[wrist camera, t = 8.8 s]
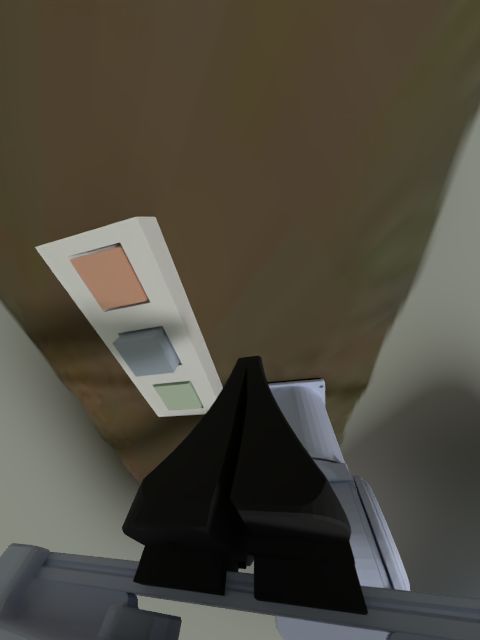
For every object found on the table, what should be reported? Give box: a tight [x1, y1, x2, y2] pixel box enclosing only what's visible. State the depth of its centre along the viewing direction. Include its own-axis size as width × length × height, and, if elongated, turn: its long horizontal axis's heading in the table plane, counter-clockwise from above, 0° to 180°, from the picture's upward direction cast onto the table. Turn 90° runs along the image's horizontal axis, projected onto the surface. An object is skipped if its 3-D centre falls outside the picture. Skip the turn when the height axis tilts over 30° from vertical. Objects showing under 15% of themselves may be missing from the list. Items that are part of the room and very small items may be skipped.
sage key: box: [154, 381, 202, 410], centre depth 24 cm, size 5×5×2 cm
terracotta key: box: [70, 247, 149, 310], centre depth 17 cm, size 5×5×2 cm
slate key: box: [112, 326, 180, 377], centre depth 19 cm, size 5×5×2 cm
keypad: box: [35, 217, 223, 417], centre depth 21 cm, size 24×10×3 cm, turn 13°
